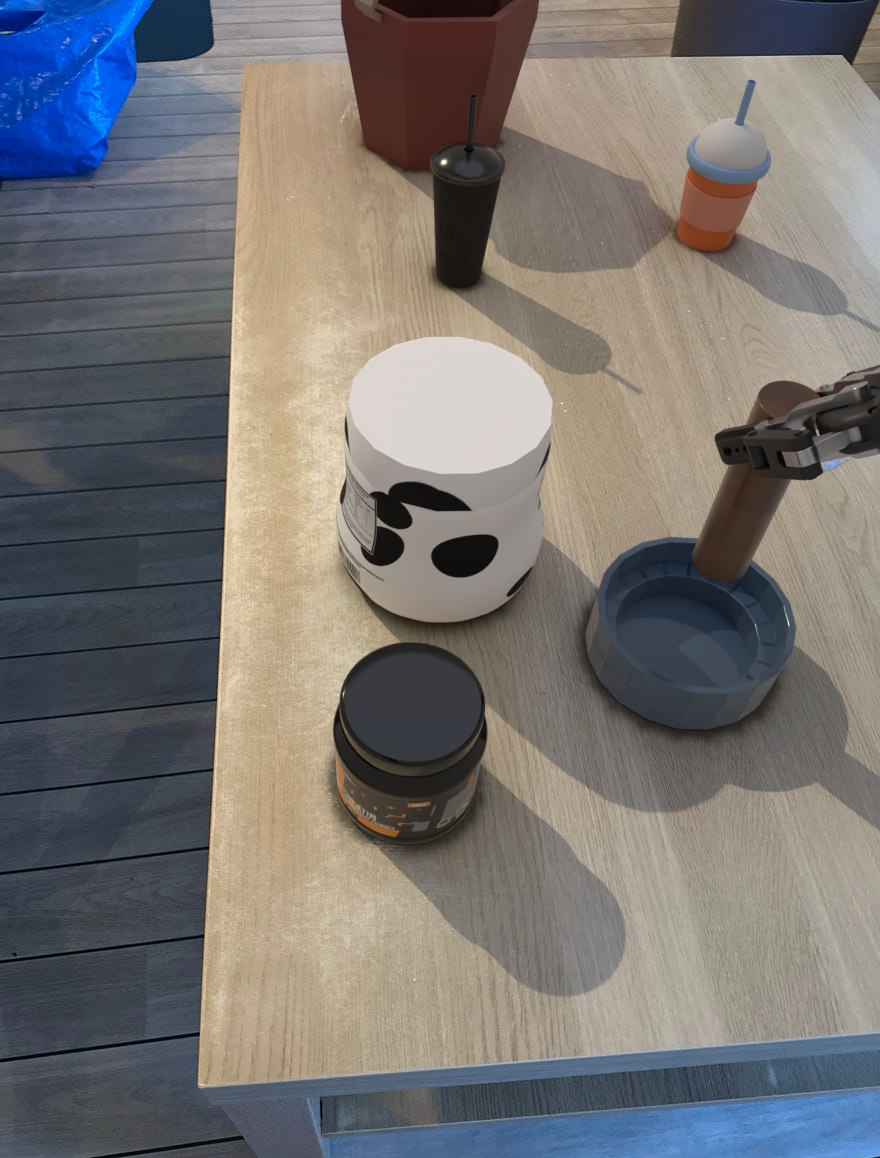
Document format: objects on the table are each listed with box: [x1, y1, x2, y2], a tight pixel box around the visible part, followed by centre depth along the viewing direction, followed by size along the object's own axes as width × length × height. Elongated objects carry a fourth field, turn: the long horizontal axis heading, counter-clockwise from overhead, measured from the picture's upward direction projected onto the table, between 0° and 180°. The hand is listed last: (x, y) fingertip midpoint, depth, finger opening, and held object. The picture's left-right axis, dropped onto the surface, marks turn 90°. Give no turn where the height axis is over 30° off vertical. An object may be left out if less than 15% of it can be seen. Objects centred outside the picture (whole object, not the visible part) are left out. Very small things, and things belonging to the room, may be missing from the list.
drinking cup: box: [430, 94, 507, 290], centre depth 103 cm, size 8×8×20 cm
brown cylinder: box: [692, 380, 821, 583], centre depth 66 cm, size 4×4×15 cm
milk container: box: [335, 336, 554, 624], centre depth 80 cm, size 17×17×18 cm
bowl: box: [584, 536, 797, 731], centre depth 79 cm, size 15×15×6 cm
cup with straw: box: [677, 79, 772, 252], centre depth 109 cm, size 9×9×18 cm
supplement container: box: [332, 641, 489, 845], centre depth 69 cm, size 10×10×12 cm
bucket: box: [340, 0, 540, 172], centre depth 117 cm, size 24×22×25 cm
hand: (746, 433), depth 64 cm, fingers closed on brown cylinder, 4 cm apart
